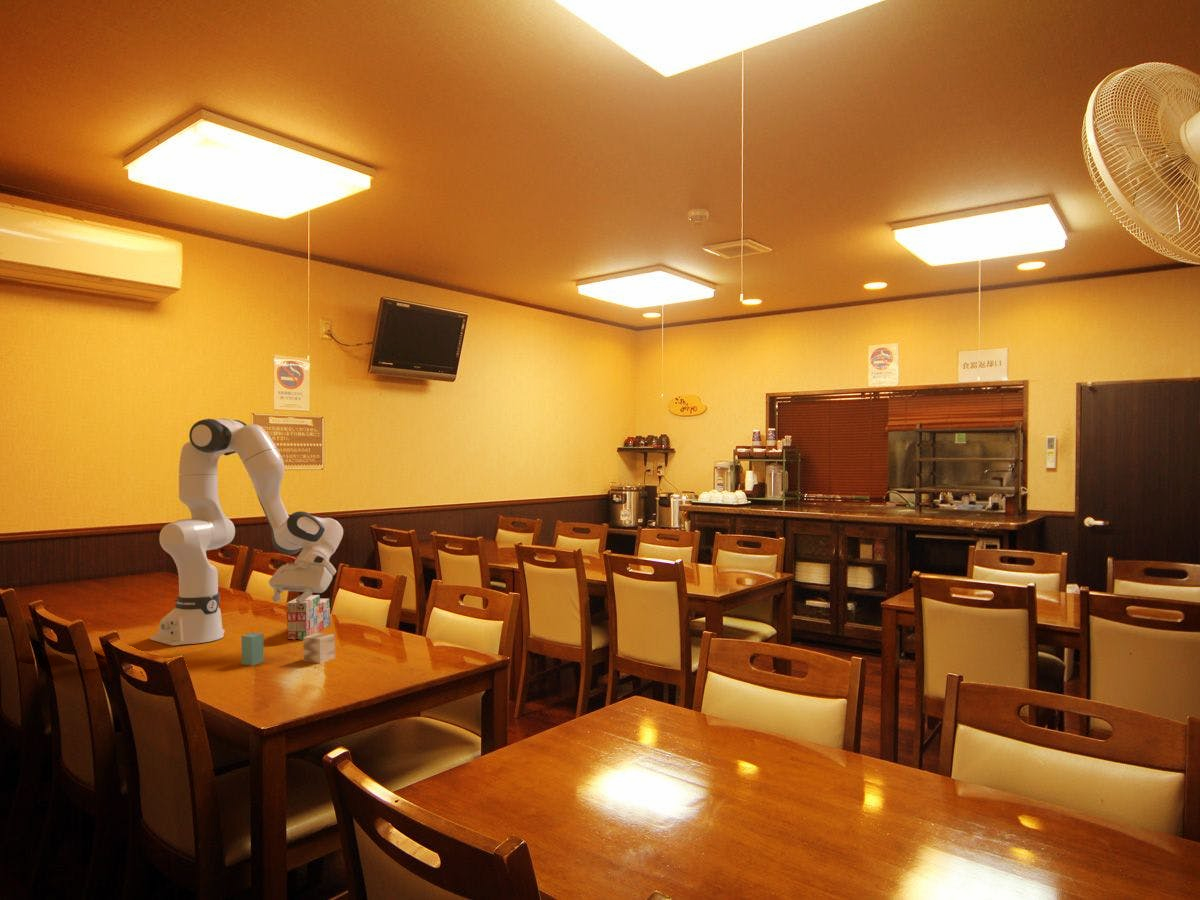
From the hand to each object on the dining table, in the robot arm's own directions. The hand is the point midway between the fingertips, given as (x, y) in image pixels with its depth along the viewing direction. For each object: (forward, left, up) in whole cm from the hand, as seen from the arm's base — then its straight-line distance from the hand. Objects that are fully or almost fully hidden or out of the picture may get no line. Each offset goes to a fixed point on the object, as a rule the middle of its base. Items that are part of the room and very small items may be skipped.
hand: (286, 601), depth 226 cm
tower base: (+15, -3, -15) cm, 22 cm away
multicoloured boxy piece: (-12, +22, -16) cm, 30 cm away
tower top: (+15, -3, -12) cm, 19 cm away
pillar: (0, -13, -15) cm, 20 cm away
